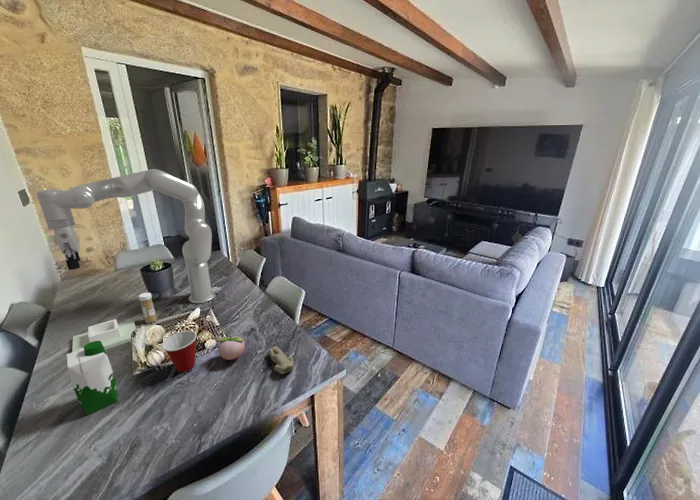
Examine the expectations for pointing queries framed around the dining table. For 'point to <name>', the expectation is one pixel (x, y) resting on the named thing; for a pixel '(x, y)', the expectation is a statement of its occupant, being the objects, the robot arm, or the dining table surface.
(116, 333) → the chute mount
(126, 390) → the dining table surface
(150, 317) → the sprinkles bottle
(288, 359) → the sculpture
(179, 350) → the plastic cup
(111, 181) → the robot arm
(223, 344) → the decorative fruit
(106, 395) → the milk carton
